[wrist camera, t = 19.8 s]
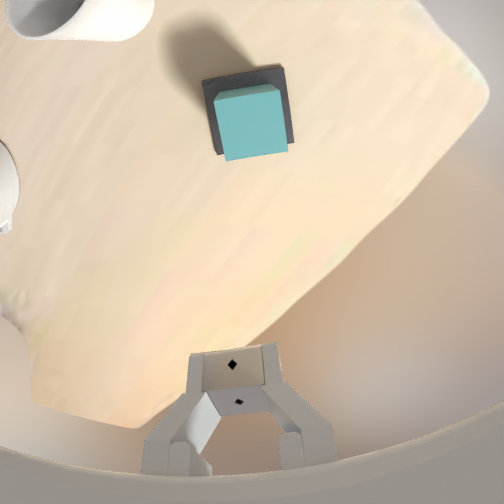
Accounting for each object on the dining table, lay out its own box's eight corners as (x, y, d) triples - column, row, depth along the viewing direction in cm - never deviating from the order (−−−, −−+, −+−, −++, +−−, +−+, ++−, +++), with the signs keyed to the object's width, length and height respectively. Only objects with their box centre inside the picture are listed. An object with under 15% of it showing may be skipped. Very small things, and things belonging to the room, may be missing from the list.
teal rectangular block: (228, 138, 35) (225, 161, 28) (219, 92, 32) (213, 101, 25) (277, 130, 35) (288, 151, 27) (270, 83, 31) (279, 90, 24)
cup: (104, -26, 22) (30, -58, 9) (166, -14, 24) (117, -58, 11) (78, 35, 26) (-8, 36, 13) (137, 48, 28) (70, 47, 15)
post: (217, 154, 36) (213, 175, 30) (202, 80, 31) (193, 85, 25) (293, 141, 36) (305, 160, 30) (283, 67, 31) (293, 69, 25)
